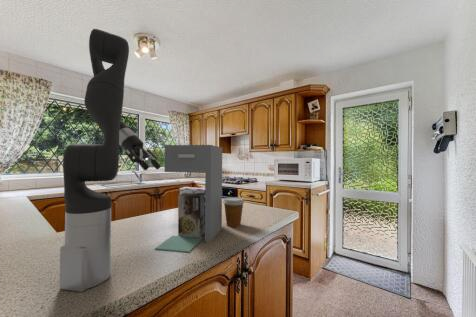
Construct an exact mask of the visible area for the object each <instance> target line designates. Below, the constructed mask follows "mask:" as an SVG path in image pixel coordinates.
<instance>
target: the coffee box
mask: <svg viewBox="0 0 476 317" xmlns="http://www.w3.org/2000/svg"><path fill="white" fill-rule="evenodd" d="M177 200H178V201H177V204H178V205H177V208H178V209H177V211H178V212H177V214H178V216H177V218H178V219H177V221H178V223H177V224H178V225H177V229H178V230H177V231H178V232H177V236H185V237H198V238H202V236H203V235H204V234H205V225H204V193H182V194H180V195H179V194H178V195H177Z"/></svg>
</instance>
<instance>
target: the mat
mask: <svg viewBox="0 0 476 317" xmlns="http://www.w3.org/2000/svg"><path fill="white" fill-rule="evenodd" d="M202 240H203V237H185V236H178V235H171V236H170V237H168V238H167V239H165V240H164V241H163V242H161V243H160V244H159V245H158V246H156V247H155V248H154V250H156V251H165V252H176V253H178V252H179V253H191V252H192V250H193V249H195V247H196V246H197V245H198V244H199V243H200V242H201V241H202Z"/></svg>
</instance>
